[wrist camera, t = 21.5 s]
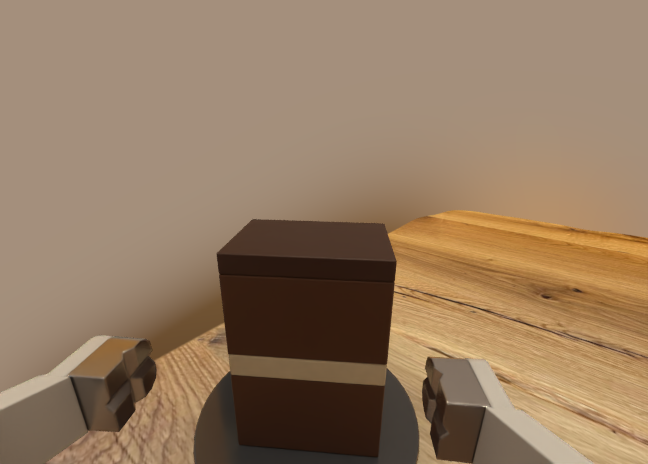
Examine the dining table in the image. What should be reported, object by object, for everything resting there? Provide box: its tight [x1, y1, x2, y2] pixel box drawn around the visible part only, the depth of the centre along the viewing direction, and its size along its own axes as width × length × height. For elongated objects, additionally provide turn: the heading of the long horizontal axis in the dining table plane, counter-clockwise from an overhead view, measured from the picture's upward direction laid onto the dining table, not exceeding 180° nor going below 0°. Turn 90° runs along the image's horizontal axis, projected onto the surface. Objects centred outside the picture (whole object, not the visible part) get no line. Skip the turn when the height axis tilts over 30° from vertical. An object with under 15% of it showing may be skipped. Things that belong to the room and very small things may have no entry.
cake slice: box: [217, 219, 396, 457], centre depth 13 cm, size 4×6×9 cm, turn 85°
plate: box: [193, 369, 419, 464], centre depth 15 cm, size 10×10×1 cm
